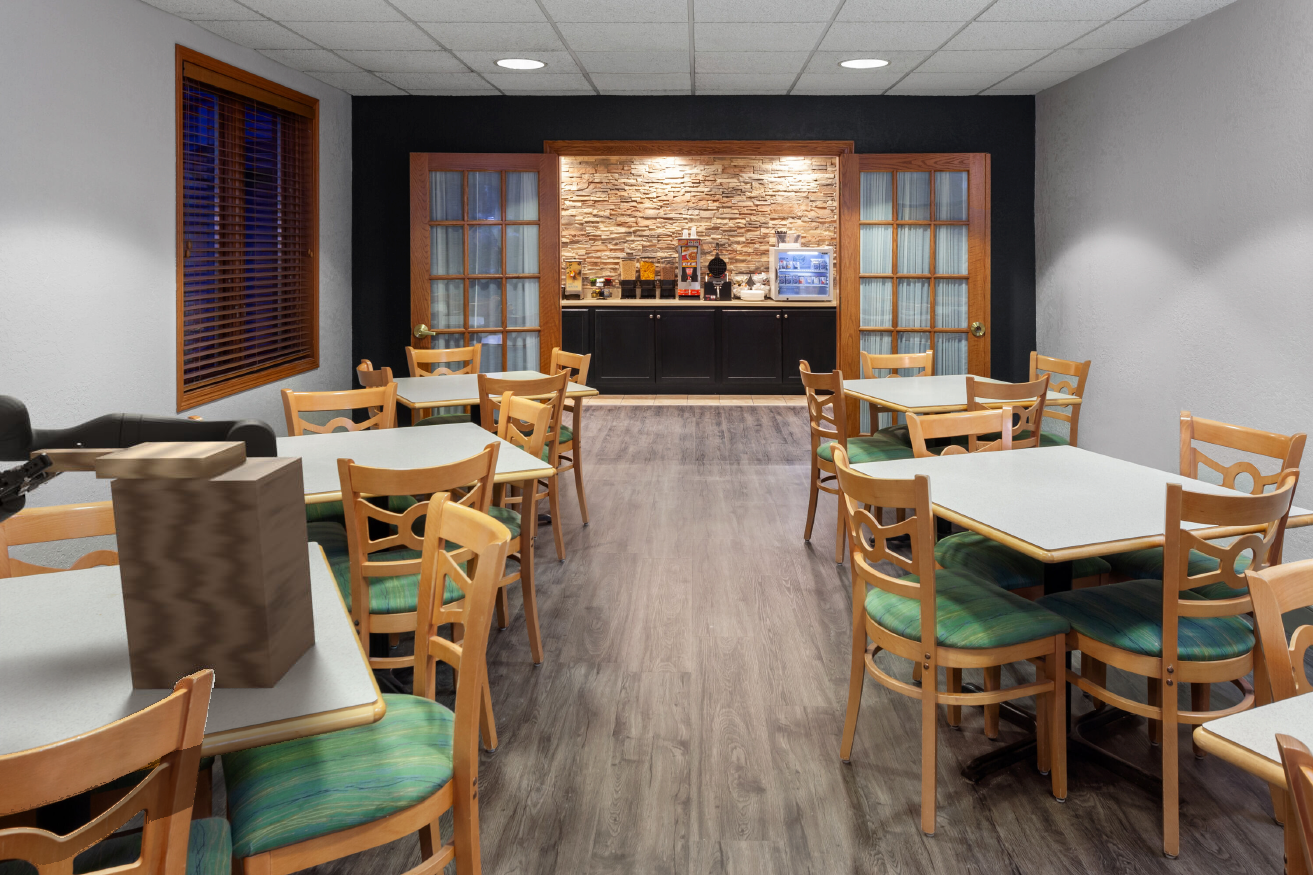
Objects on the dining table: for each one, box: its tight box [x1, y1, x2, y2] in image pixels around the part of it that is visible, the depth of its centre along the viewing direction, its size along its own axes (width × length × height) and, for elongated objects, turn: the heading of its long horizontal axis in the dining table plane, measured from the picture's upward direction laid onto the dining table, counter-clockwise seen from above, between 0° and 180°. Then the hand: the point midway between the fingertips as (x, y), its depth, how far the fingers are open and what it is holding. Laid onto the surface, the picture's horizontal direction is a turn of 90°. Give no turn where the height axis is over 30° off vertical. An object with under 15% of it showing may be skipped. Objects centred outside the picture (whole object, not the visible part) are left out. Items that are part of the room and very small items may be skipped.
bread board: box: [30, 442, 246, 480], centre depth 142 cm, size 29×14×3 cm, turn 90°
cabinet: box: [110, 456, 316, 690], centre depth 145 cm, size 21×18×32 cm
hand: (66, 453), depth 142 cm, fingers open, 8 cm apart
